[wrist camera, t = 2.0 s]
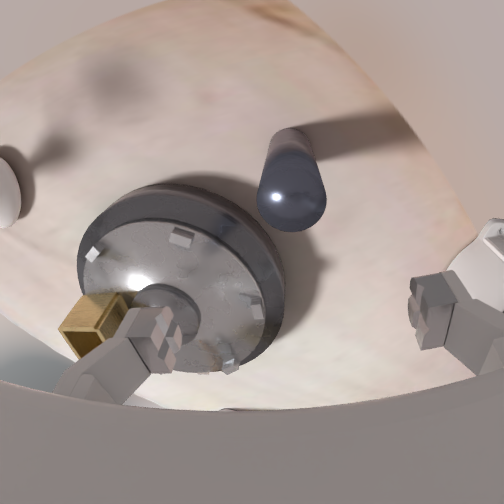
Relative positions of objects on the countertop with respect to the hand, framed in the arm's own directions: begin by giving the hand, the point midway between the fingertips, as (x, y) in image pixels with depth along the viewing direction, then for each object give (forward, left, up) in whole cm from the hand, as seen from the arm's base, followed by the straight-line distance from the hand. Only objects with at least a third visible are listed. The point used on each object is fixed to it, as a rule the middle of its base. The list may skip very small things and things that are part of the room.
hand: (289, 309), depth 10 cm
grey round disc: (+16, +14, -19) cm, 29 cm away
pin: (0, 0, -23) cm, 23 cm away
